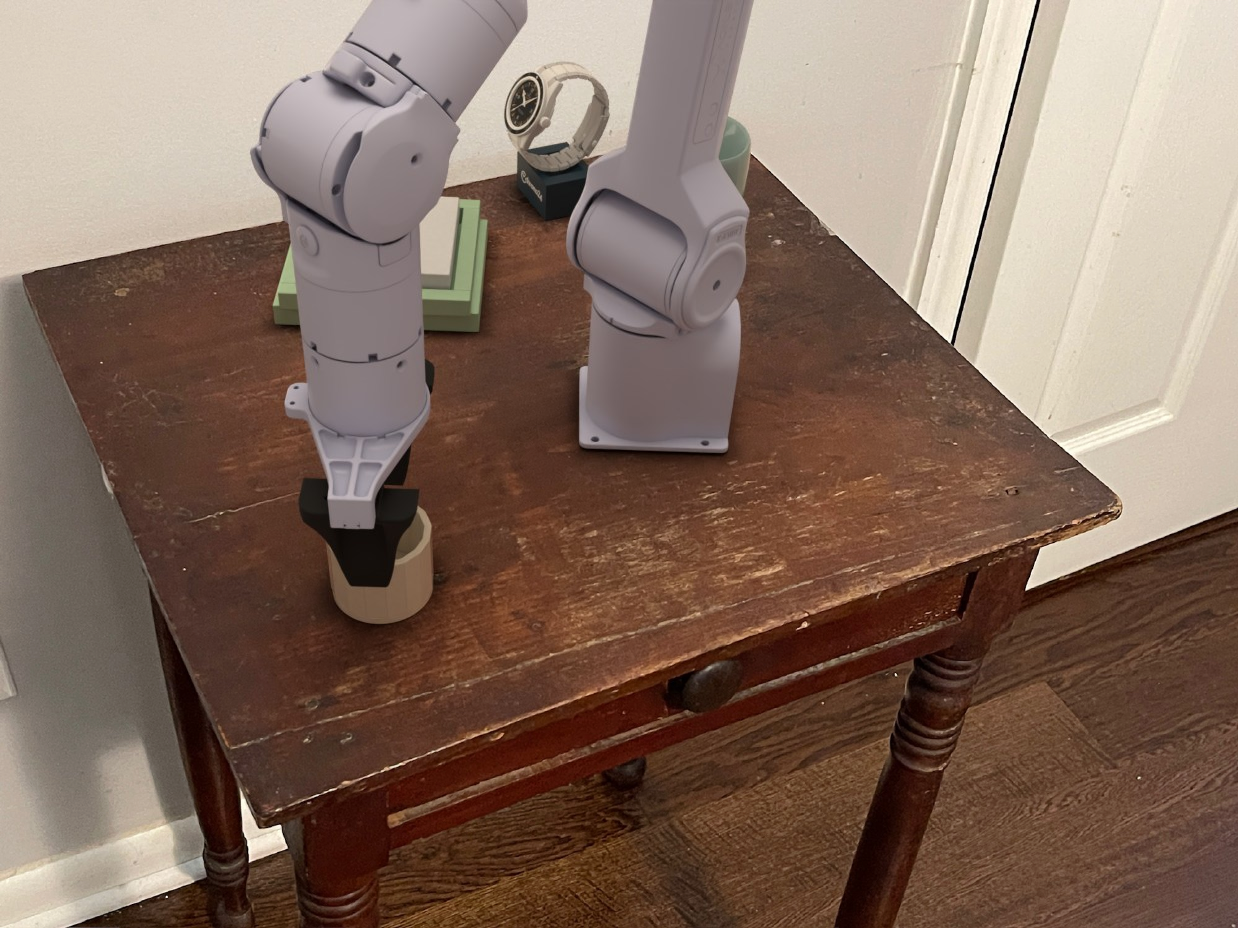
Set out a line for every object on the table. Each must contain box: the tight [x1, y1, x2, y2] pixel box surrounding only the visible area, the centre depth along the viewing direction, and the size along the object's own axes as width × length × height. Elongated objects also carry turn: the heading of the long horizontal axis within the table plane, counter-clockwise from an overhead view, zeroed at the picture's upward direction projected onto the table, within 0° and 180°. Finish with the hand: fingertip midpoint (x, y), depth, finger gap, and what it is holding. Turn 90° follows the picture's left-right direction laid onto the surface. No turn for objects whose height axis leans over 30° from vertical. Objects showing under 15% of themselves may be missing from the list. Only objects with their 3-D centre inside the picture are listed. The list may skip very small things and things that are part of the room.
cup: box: [719, 116, 752, 200], centre depth 100 cm, size 8×8×10 cm
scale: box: [272, 198, 489, 333], centre depth 97 cm, size 14×13×3 cm
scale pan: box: [419, 196, 461, 290], centre depth 96 cm, size 10×10×2 cm
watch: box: [503, 60, 611, 222], centre depth 104 cm, size 6×8×11 cm
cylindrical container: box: [325, 505, 435, 625], centre depth 75 cm, size 6×6×4 cm
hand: (377, 529), depth 73 cm, fingers open, 7 cm apart
